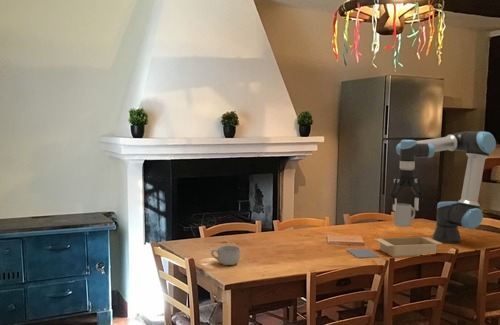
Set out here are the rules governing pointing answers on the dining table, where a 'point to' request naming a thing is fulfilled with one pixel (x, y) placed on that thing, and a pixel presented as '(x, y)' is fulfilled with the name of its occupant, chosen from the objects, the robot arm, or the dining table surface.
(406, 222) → the mug
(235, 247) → the teacup
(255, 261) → the dining table surface
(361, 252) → the coaster mat
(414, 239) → the beige tray
